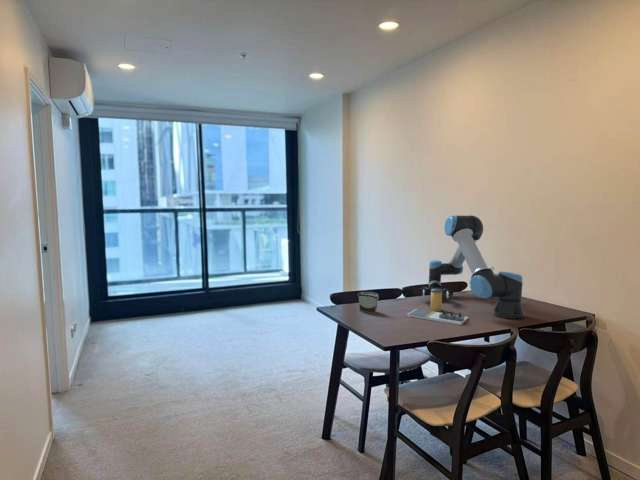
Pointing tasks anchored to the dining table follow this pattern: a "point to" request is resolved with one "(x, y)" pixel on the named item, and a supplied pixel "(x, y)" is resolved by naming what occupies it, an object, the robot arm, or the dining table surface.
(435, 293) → the yellow jar
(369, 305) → the food container
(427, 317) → the board
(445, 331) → the dining table surface
